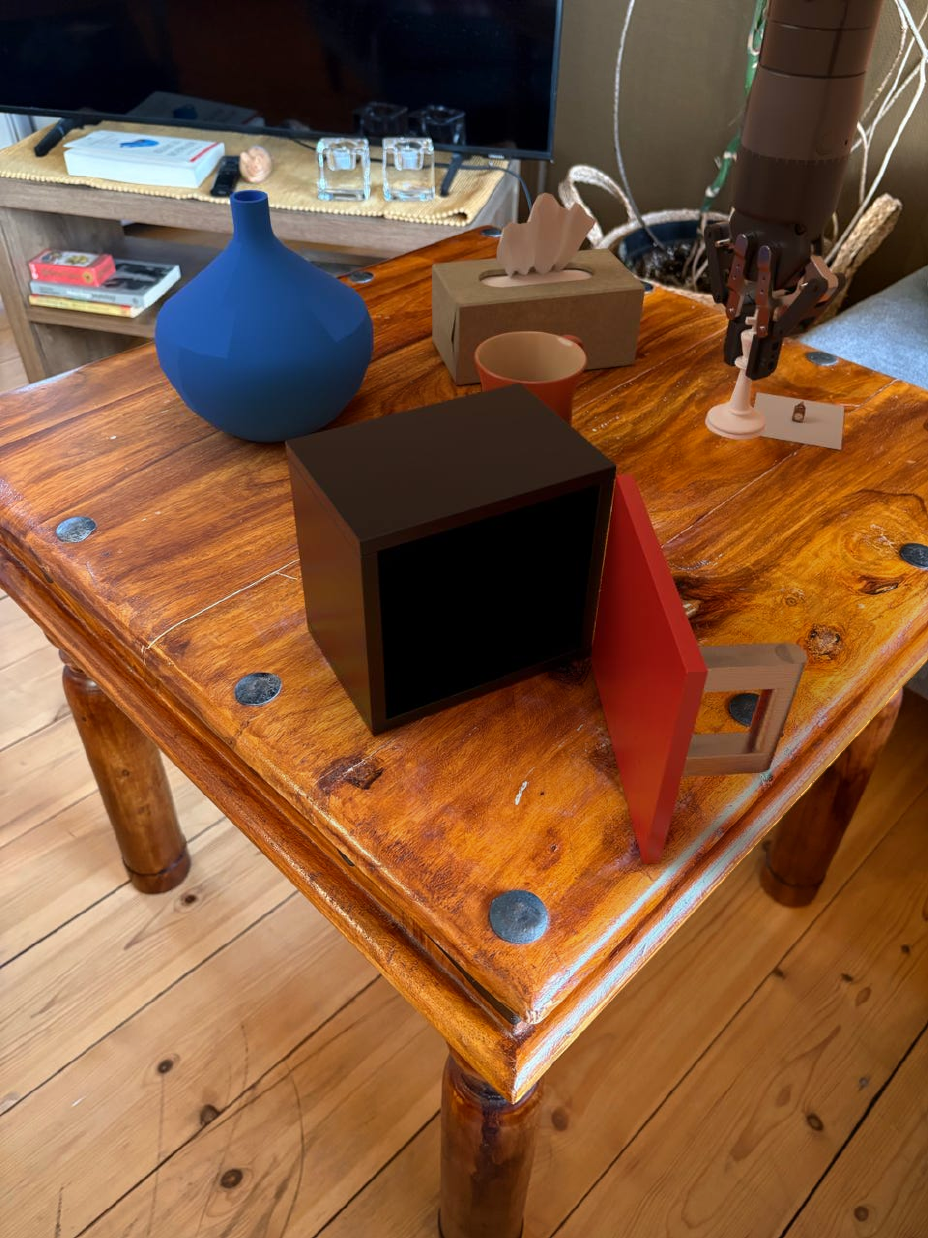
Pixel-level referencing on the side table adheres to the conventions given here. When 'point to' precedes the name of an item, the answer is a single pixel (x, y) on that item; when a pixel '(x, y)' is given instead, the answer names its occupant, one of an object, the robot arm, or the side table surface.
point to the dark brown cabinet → (449, 549)
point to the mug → (534, 366)
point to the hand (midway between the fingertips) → (746, 369)
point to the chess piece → (739, 400)
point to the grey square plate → (801, 420)
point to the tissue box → (538, 293)
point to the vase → (264, 336)
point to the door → (673, 679)
